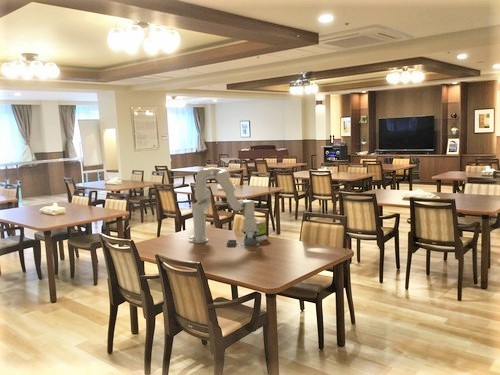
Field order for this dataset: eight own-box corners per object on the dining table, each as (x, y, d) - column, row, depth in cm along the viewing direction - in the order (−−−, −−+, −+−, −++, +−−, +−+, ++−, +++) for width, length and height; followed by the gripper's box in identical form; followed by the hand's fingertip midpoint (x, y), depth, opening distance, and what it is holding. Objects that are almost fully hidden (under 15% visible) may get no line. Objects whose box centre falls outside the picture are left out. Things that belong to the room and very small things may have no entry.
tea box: (244, 238, 356) (244, 220, 355) (254, 236, 363) (253, 218, 361) (257, 241, 345) (257, 223, 343) (266, 239, 352) (266, 221, 350)
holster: (225, 247, 331) (225, 242, 330) (227, 244, 340) (227, 239, 339) (236, 247, 330) (236, 242, 330) (237, 244, 339) (237, 239, 338)
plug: (247, 242, 334) (247, 231, 333) (248, 241, 338) (247, 230, 337) (252, 242, 334) (252, 231, 333) (253, 241, 338) (252, 230, 337)
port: (240, 246, 331) (240, 239, 331) (242, 242, 343) (241, 235, 342) (259, 246, 330) (258, 239, 329) (260, 242, 342) (259, 235, 341)
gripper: (238, 217, 331) (239, 241, 333) (260, 217, 330) (261, 241, 332) (239, 215, 338) (239, 239, 341) (260, 215, 337) (261, 238, 339)
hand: (250, 239), depth 336 cm, fingers closed on plug, 4 cm apart
